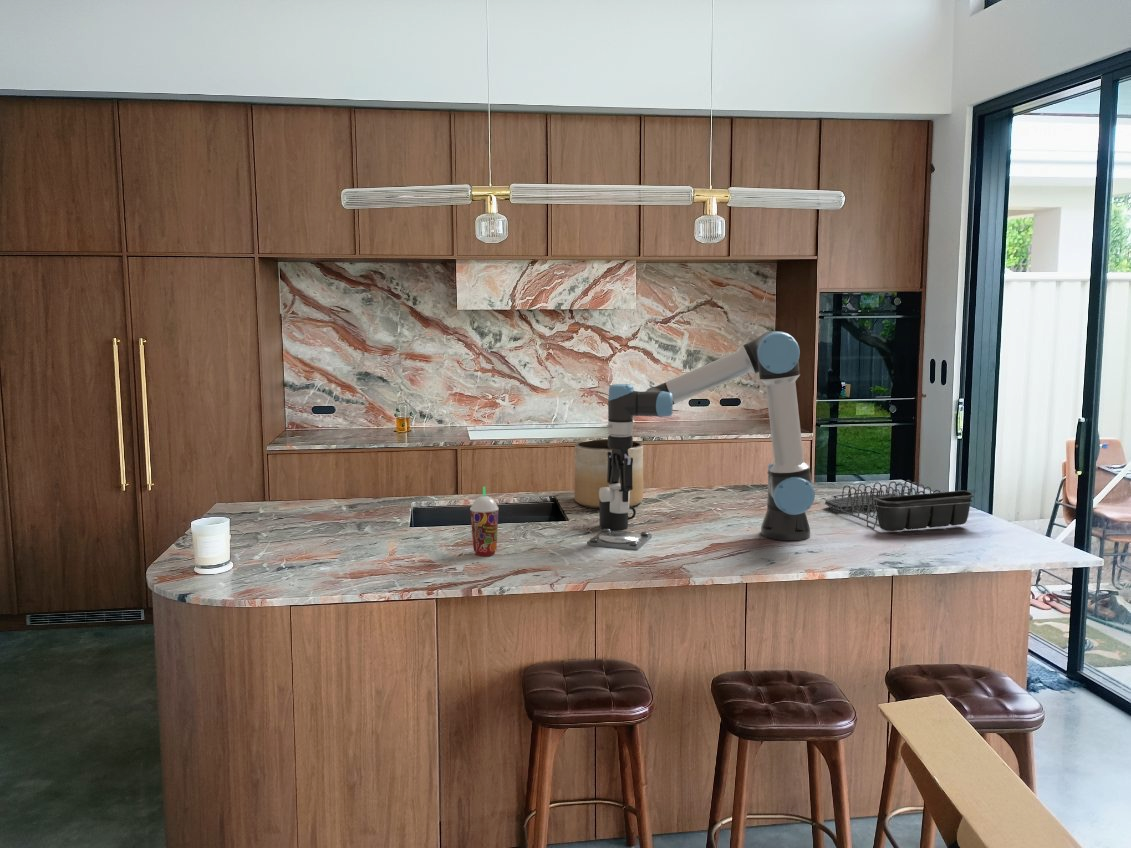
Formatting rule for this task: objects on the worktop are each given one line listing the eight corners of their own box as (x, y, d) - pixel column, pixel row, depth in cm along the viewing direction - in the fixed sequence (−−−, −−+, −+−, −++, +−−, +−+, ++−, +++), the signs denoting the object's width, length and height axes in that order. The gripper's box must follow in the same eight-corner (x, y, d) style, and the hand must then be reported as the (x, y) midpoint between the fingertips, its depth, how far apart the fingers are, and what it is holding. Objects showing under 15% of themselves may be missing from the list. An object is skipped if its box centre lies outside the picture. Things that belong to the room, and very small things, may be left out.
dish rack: (885, 538, 278) (886, 500, 277) (813, 507, 321) (814, 474, 319) (978, 531, 286) (980, 494, 285) (896, 502, 329) (897, 470, 327)
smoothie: (488, 559, 255) (486, 490, 253) (465, 555, 260) (463, 487, 257) (505, 552, 262) (504, 485, 260) (482, 548, 267) (481, 483, 264)
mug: (637, 530, 288) (637, 502, 287) (600, 530, 288) (600, 503, 287) (634, 523, 297) (634, 496, 296) (598, 523, 297) (598, 497, 296)
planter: (578, 494, 343) (578, 438, 340) (644, 496, 340) (645, 439, 337) (570, 509, 318) (569, 448, 315) (641, 511, 315) (641, 449, 312)
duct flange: (651, 537, 279) (651, 531, 279) (637, 550, 264) (637, 544, 264) (603, 532, 285) (603, 527, 285) (586, 545, 270) (586, 539, 270)
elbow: (624, 508, 278) (625, 482, 277) (633, 512, 272) (634, 486, 271) (597, 510, 274) (597, 484, 273) (605, 515, 268) (606, 488, 267)
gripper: (596, 431, 278) (595, 504, 281) (622, 440, 260) (621, 517, 263) (618, 430, 281) (617, 502, 284) (645, 438, 263) (643, 515, 266)
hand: (619, 509), depth 273 cm, fingers closed on elbow, 6 cm apart
